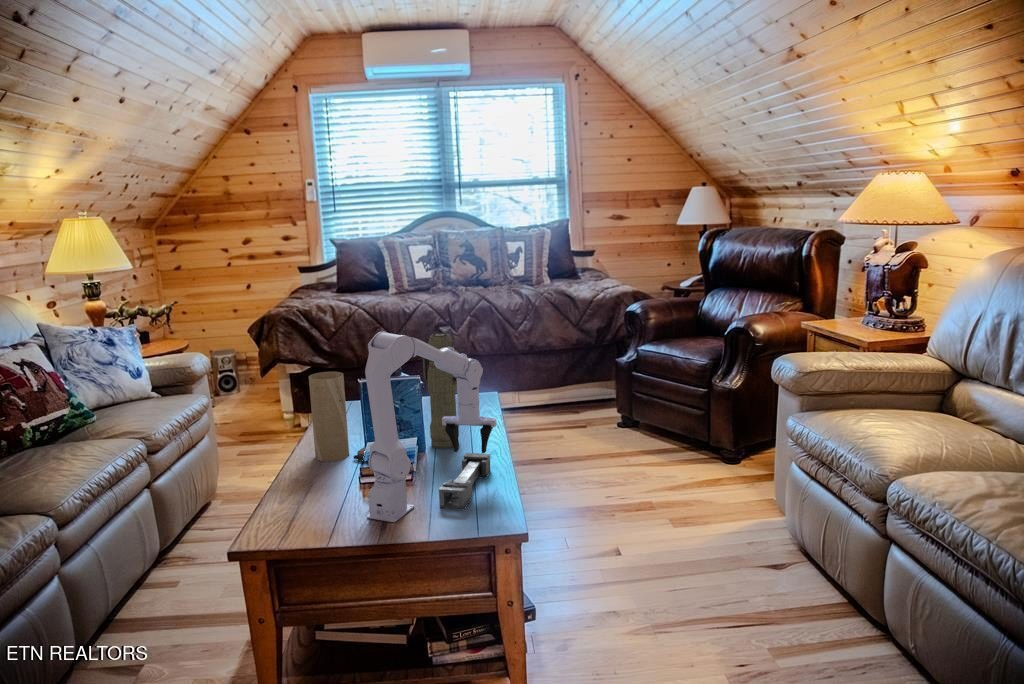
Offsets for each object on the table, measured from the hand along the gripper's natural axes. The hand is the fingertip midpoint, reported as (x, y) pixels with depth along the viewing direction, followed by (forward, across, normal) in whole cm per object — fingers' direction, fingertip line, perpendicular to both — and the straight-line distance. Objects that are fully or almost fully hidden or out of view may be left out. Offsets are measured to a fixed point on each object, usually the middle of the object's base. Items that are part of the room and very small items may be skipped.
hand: (470, 451), depth 191 cm
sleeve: (+8, 0, +14) cm, 17 cm away
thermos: (+9, +16, -28) cm, 34 cm away
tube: (+9, +47, -13) cm, 50 cm away
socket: (+8, 0, -5) cm, 10 cm away
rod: (+7, 0, +4) cm, 8 cm away
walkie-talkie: (+9, +29, -12) cm, 33 cm away
